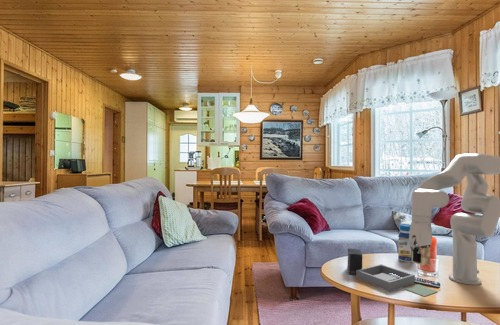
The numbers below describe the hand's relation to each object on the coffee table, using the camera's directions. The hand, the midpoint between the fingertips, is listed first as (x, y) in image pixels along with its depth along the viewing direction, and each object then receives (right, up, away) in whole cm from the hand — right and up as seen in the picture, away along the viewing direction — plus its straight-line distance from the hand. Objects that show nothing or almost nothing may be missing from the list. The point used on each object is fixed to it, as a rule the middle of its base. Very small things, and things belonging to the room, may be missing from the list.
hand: (420, 260), depth 139 cm
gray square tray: (-11, -13, +11) cm, 20 cm away
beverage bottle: (+15, -13, +44) cm, 48 cm away
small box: (-21, -13, +24) cm, 34 cm away
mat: (0, -13, 0) cm, 13 cm away
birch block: (0, -1, 0) cm, 1 cm away
